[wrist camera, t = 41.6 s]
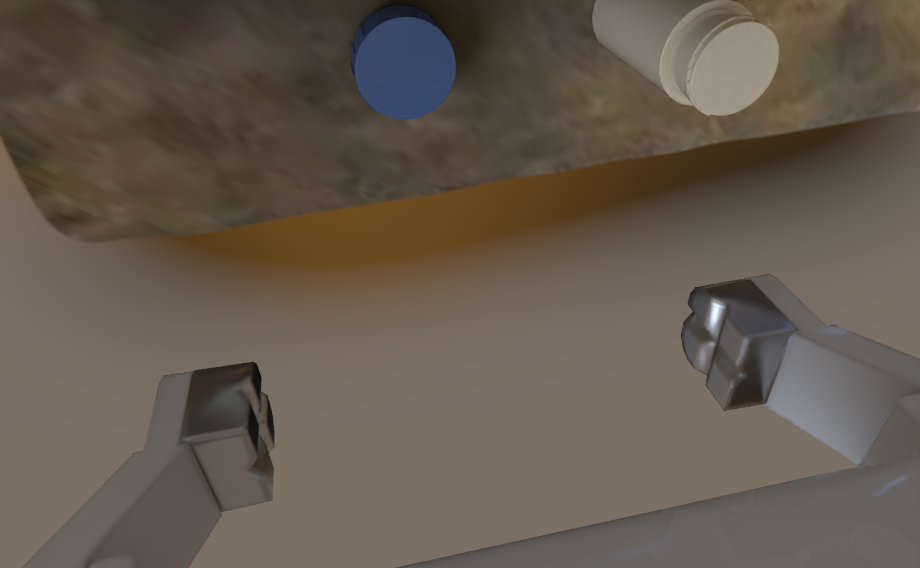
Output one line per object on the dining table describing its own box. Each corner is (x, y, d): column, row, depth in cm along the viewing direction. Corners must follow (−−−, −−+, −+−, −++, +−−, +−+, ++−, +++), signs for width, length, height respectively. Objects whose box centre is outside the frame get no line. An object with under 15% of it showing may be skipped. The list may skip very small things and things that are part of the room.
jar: (622, -53, 36) (731, -8, 28) (688, -14, 39) (809, 39, 30) (576, 34, 39) (662, 101, 30) (641, 66, 41) (739, 138, 32)
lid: (395, 122, 40) (401, 139, 38) (329, 51, 36) (331, 66, 34) (466, 60, 38) (476, 74, 36) (404, -19, 35) (412, -8, 33)
